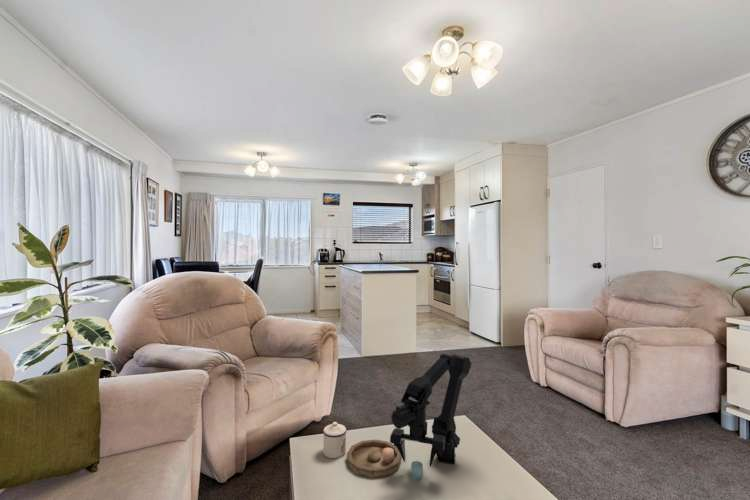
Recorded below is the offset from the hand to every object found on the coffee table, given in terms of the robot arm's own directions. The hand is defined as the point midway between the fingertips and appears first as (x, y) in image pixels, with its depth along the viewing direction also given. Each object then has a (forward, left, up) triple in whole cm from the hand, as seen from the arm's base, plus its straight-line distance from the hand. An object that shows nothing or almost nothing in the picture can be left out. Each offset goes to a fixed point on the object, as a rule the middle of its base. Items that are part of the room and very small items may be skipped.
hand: (417, 463), depth 124 cm
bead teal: (0, 0, -4) cm, 4 cm away
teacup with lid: (+34, -6, -4) cm, 35 cm away
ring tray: (+17, -4, -4) cm, 18 cm away
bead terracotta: (+12, -4, -3) cm, 13 cm away
